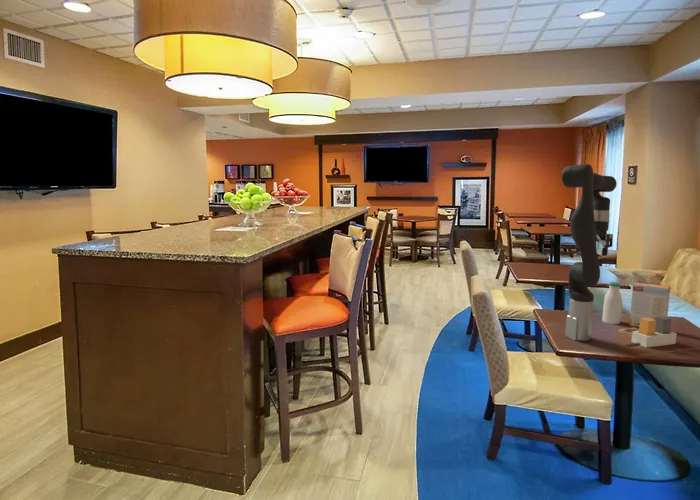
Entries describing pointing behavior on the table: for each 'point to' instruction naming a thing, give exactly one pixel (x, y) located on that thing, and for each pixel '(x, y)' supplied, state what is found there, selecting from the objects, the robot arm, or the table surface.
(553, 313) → the table surface
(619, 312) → the milk bottle
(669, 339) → the strip
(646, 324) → the plug
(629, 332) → the tray
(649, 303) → the cracker box
